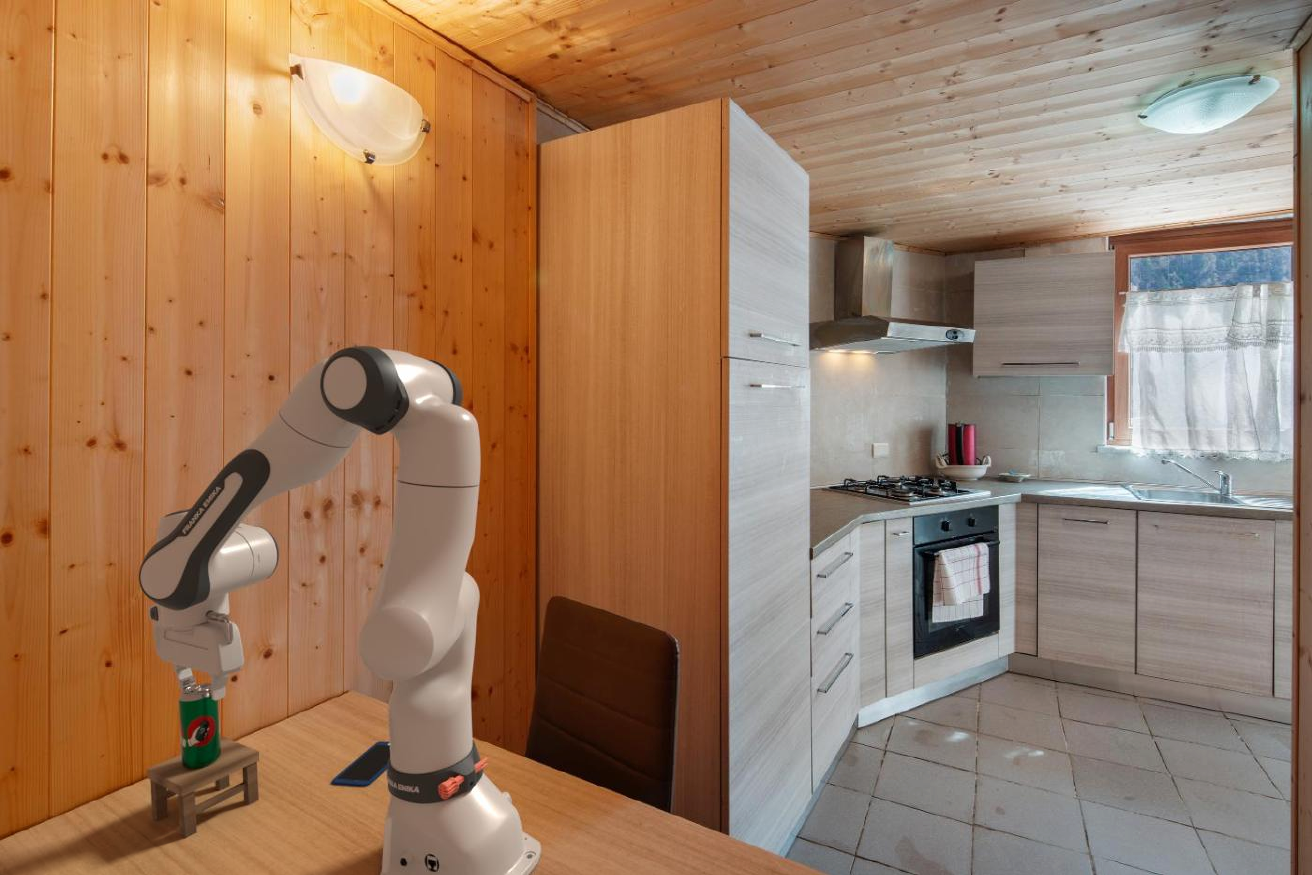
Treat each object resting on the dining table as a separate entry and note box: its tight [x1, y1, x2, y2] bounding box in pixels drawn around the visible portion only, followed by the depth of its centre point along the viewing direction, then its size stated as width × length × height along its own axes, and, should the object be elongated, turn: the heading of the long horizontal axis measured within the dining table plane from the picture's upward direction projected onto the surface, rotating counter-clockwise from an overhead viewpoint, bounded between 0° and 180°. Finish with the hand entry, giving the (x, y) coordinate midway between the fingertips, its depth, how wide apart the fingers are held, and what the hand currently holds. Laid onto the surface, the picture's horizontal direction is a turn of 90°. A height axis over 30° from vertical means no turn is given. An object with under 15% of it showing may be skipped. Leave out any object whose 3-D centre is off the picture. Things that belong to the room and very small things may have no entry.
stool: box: [146, 736, 260, 839], centre depth 100 cm, size 11×11×8 cm
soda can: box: [178, 682, 221, 769], centre depth 99 cm, size 5×5×12 cm
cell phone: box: [330, 740, 390, 788], centre depth 112 cm, size 7×14×1 cm, turn 171°
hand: (202, 693), depth 99 cm, fingers open, 8 cm apart
